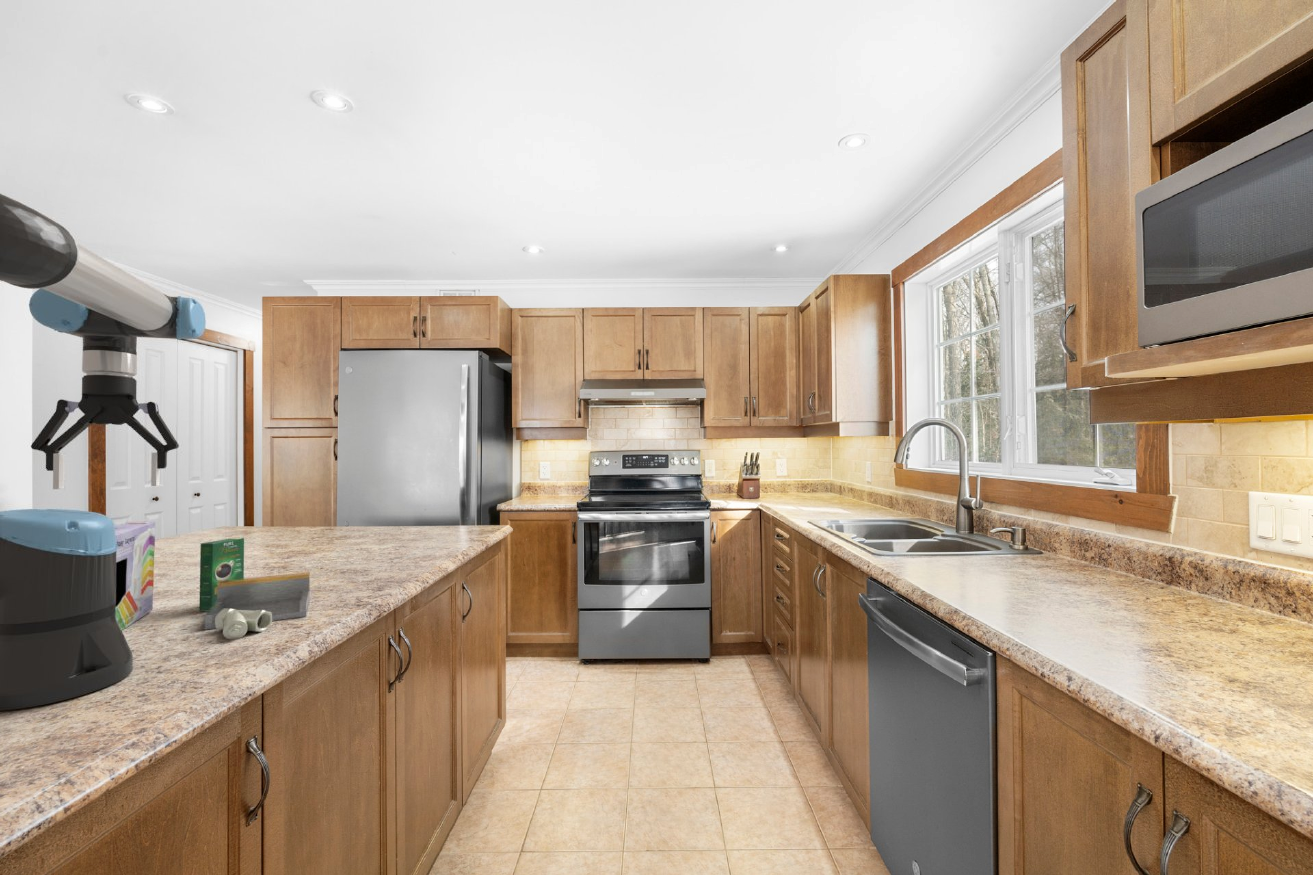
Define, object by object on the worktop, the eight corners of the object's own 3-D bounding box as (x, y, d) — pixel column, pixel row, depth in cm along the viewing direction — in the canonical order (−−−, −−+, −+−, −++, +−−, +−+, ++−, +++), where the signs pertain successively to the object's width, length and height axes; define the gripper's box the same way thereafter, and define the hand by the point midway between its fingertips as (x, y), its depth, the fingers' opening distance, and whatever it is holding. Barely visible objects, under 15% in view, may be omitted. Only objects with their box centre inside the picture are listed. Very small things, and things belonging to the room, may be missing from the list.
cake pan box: (104, 644, 92) (104, 535, 92) (63, 648, 90) (63, 537, 90) (157, 611, 110) (157, 520, 110) (124, 614, 108) (124, 521, 108)
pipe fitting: (238, 645, 93) (272, 628, 100) (237, 621, 93) (271, 606, 99) (197, 642, 94) (233, 626, 101) (195, 619, 94) (231, 604, 101)
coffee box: (232, 599, 118) (232, 536, 118) (245, 599, 118) (245, 536, 118) (198, 611, 110) (198, 543, 110) (211, 611, 110) (211, 543, 110)
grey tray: (306, 616, 106) (305, 586, 106) (204, 629, 99) (204, 597, 99) (310, 599, 118) (310, 572, 118) (219, 610, 110) (219, 581, 111)
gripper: (196, 381, 118) (195, 483, 118) (25, 374, 106) (23, 489, 105) (189, 377, 112) (188, 485, 111) (6, 369, 99) (4, 491, 99)
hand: (108, 487), depth 108 cm, fingers open, 13 cm apart
